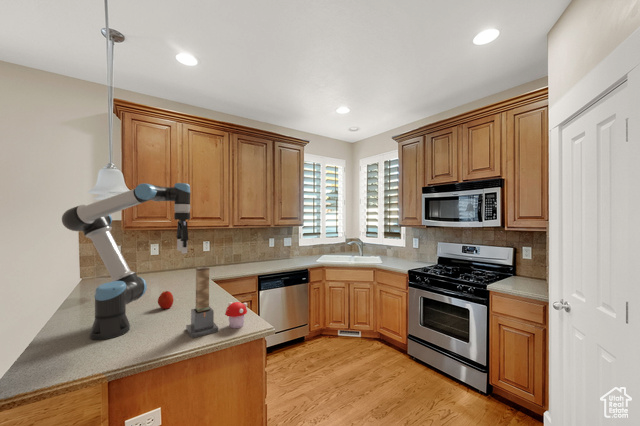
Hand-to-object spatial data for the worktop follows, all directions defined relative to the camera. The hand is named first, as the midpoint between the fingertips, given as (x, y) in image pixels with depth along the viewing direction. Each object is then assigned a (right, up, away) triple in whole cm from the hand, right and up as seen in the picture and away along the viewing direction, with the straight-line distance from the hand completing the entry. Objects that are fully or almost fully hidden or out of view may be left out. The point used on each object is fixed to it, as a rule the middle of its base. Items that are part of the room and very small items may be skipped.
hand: (182, 252), depth 144 cm
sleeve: (+16, -37, -12) cm, 42 cm away
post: (+16, -26, -12) cm, 33 cm away
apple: (-20, -37, +20) cm, 47 cm away
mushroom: (+31, -37, -6) cm, 49 cm away
